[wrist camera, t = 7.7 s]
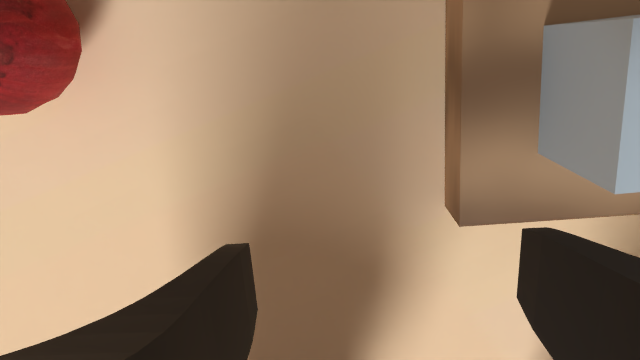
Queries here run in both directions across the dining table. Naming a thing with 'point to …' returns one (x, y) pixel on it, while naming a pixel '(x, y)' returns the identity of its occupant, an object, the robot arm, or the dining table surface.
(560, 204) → the base
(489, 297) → the dining table surface
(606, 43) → the cube
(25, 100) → the onion
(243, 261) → the robot arm
